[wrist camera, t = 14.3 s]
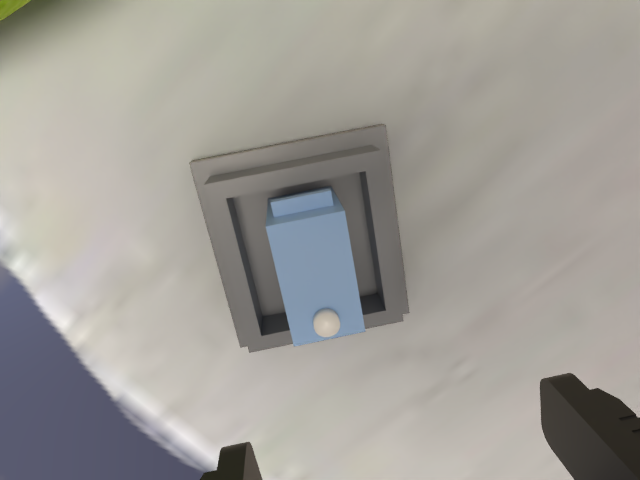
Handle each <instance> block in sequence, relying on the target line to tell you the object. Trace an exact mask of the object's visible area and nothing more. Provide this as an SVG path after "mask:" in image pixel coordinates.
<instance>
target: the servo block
mask: <svg viewBox="0 0 640 480" xmlns="http://www.w3.org/2000/svg"><path fill="white" fill-rule="evenodd" d="M266 230H267V235H268V239H269V243H270V247H271V251H272V256H273V260H274V264H275V268H276V273H277V277H278V281H279V285H280V290H281V294H282V298H283V302H284V306H285V311H286V315H287V319H288V323H289V328H290V332H291V336H292V340H293V345H294V346H299V345H304V344H308V343H313V342H318V341H323V340H327V339H332V338H337V337H342V336H346V335H351V334H356V333H361V332H365V326H364V320H363V314H362V308H361V303H360V297H359V291H358V285H357V279H356V273H355V267H354V262H353V256H352V250H351V244H350V238H349V232H348V226H347V221H346V215H345V210H344V208H343V206H342V205H341V203H340V201H339V199H338V197H337V196H336V194H335V192H334V190H333V188H332V187H331V186H327V187H322V188H317V189H312V190H307V191H302V192H297V193H292V194H287V195H283V196H278V197H273V198H268V205H267V217H266Z"/></svg>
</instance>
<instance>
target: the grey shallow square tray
mask: <svg viewBox="0 0 640 480" xmlns="http://www.w3.org/2000/svg"><path fill="white" fill-rule="evenodd" d="M189 164H190V168H191V171H192V175H193V178H194V182H195V186H196V189H197V193H198V196H199V200H200V204H201V207H202V211H203V214H204V218H205V222H206V225H207V229H208V232H209V236H210V240H211V243H212V247H213V250H214V254H215V258H216V261H217V265H218V268H219V272H220V275H221V279H222V283H223V286H224V290H225V293H226V297H227V301H228V304H229V308H230V311H231V315H232V319H233V322H234V326H235V329H236V333H237V337H238V340H239V344H240V347H246V346H248V350H249V353H251V352H255V351H260V350H265V349H270V348H275V347H280V346H285V345H289V344H293V340H292V336H291V332H290V328H289V323H288V319H287V315H286V311H285V306H284V302H283V298H282V294H281V290H280V285H279V281H278V277H277V273H276V268H275V264H274V260H273V256H272V251H271V247H270V243H269V239H268V235H267V230H266V217H267V205H268V198H273V197H278V196H283V195H287V194H292V193H297V192H302V191H307V190H312V189H317V188H322V187H327V186H331V187H332V188H333V190H334V192H335V194H336V196H337V197H338V199H339V201H340V203H341V205H342V206H343V208H344V210H345V215H346V221H347V226H348V232H349V238H350V244H351V250H352V256H353V262H354V267H355V273H356V279H357V285H358V291H359V297H360V303H361V308H362V314H363V320H364V326H365V329H367V328H372V327H377V326H382V325H386V324H391V323H396V322H401V321H403V315H402V314H407V313H409V307H408V299H407V291H406V283H405V275H404V267H403V259H402V251H401V243H400V235H399V227H398V219H397V211H396V203H395V195H394V187H393V179H392V171H391V163H390V155H389V147H388V139H387V131H386V125H384V124H379V125H374V126H368V127H363V128H358V129H353V130H348V131H343V132H337V133H332V134H327V135H322V136H317V137H312V138H306V139H301V140H296V141H291V142H286V143H281V144H275V145H270V146H265V147H260V148H255V149H250V150H244V151H239V152H234V153H229V154H224V155H219V156H213V157H208V158H203V159H198V160H193V161H191V162H190V163H189Z"/></svg>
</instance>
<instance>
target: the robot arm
mask: <svg viewBox="0 0 640 480" xmlns="http://www.w3.org/2000/svg"><path fill="white" fill-rule="evenodd" d="M540 400H541V424H542V429H543V433H544V435H545V438H546V440H547V442H548V444H549V446H550V447H551V449H552V450H553V452H554V453H555V454H556V456H557V457H558V458H559V460H560V461H561V462H562V464H563V465H564V466H565V468H566V469H567V470H568V472H569V473H570V474H571V476H572V477H573V478H574V480H640V418H637V416H636V414H635V413H634V412H633V411H632V410H631V409H630V408H628V407H627V406H626V405H625V404H624V403H623V402H622V401H621V400H620V399H618V398H616V397H614V396H612V395H610V394H608V393H606V392H604V391H602V390H600V389H599V388H596V389H592V390H589V389H588V388H587V387H586V386H585V385H584V384H583V383H582V382H581V381H580V380H579V379H578V378H577V377H576V376H575V375H573V374H571V373H567V374H562V375H558V376H553V377H549V378H544V379H542V380H541V382H540ZM200 480H262V477H261V474H260V471H259V467H258V464H257V461H256V458H255V455H254V451H253V448H252V445H251V443H250V442H245V443H241V444H236V445H231V446H227V447H223V448H222V449H221V451H220V455H219V461H218V467H217V470H215V471H211V472H206V473H204V474H203V476H202V477H201V479H200Z"/></svg>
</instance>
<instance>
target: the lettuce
mask: <svg viewBox="0 0 640 480" xmlns="http://www.w3.org/2000/svg"><path fill="white" fill-rule="evenodd" d="M30 1H31V0H0V21H1V20H3V19H5V18H6V17H8V16H9V15H11V14H12V13H14V12H15V11H17V10H18V9H19V8H21V7H22V6H24V5H25V4H27V3H28V2H30Z"/></svg>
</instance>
